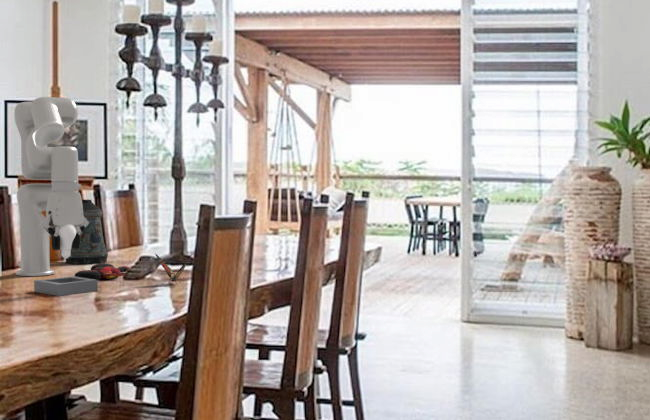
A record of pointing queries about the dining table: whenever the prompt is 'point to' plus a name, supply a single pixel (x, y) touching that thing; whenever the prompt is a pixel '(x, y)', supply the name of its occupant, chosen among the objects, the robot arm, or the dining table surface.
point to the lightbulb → (66, 239)
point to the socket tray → (65, 285)
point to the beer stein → (90, 239)
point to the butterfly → (169, 271)
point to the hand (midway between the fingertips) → (65, 248)
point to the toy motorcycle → (102, 271)
